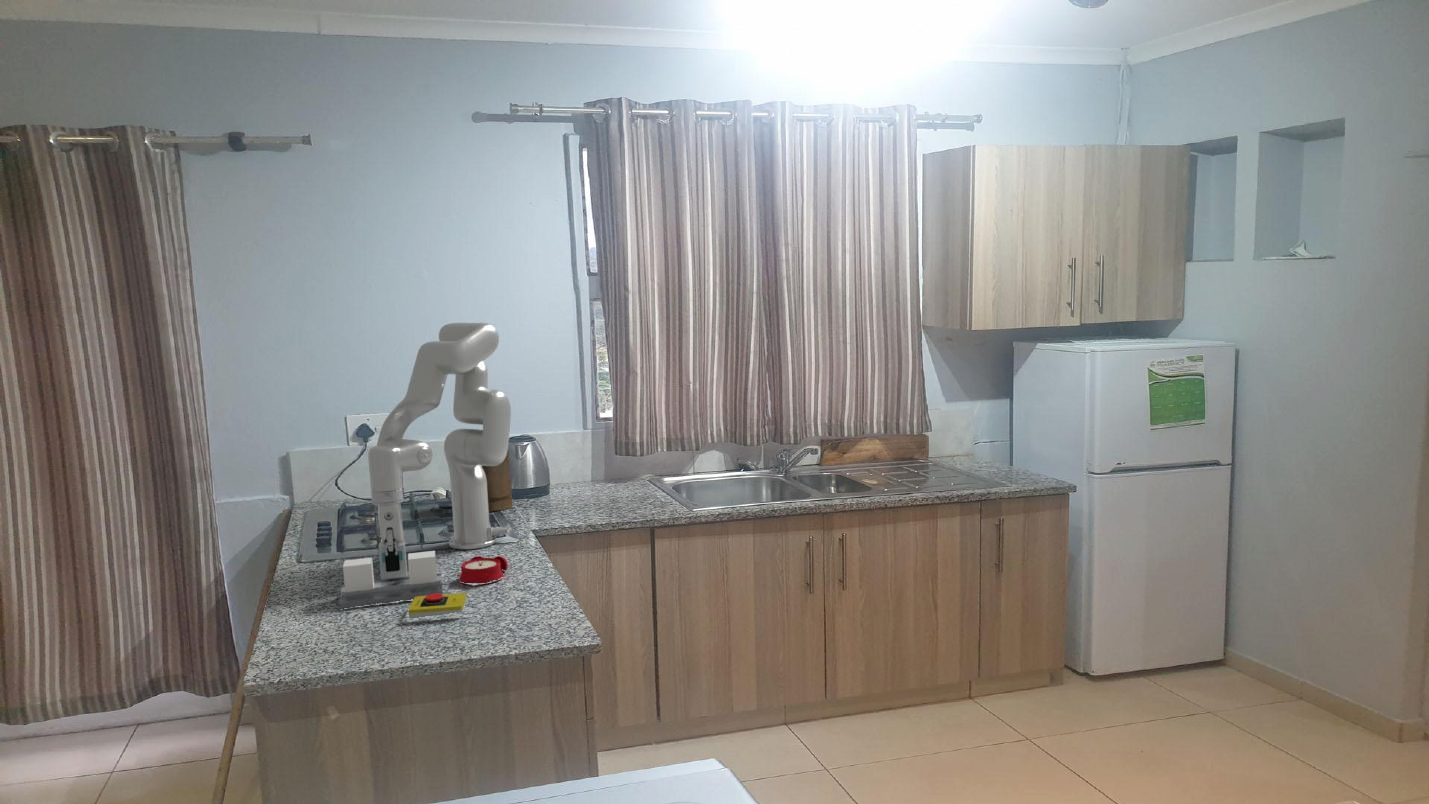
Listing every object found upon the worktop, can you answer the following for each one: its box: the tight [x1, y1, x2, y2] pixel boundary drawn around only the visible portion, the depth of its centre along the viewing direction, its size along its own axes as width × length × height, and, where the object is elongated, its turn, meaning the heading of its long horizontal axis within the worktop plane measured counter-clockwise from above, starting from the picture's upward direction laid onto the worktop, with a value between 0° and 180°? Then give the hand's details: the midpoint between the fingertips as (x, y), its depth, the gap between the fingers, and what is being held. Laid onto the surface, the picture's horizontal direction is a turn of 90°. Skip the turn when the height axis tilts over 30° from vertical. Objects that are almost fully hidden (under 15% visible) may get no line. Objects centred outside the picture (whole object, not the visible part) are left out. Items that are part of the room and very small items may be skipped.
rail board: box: [339, 572, 444, 610], centre depth 224 cm, size 22×14×2 cm, turn 107°
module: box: [378, 539, 408, 580], centre depth 238 cm, size 6×5×8 cm
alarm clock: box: [456, 555, 509, 583], centre depth 234 cm, size 10×6×15 cm
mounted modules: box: [342, 550, 438, 592], centre depth 223 cm, size 20×5×6 cm, turn 107°
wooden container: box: [482, 449, 513, 513], centre depth 303 cm, size 15×15×22 cm
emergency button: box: [408, 592, 468, 618], centre depth 210 cm, size 9×4×15 cm
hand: (393, 565), depth 238 cm, fingers open, 7 cm apart
